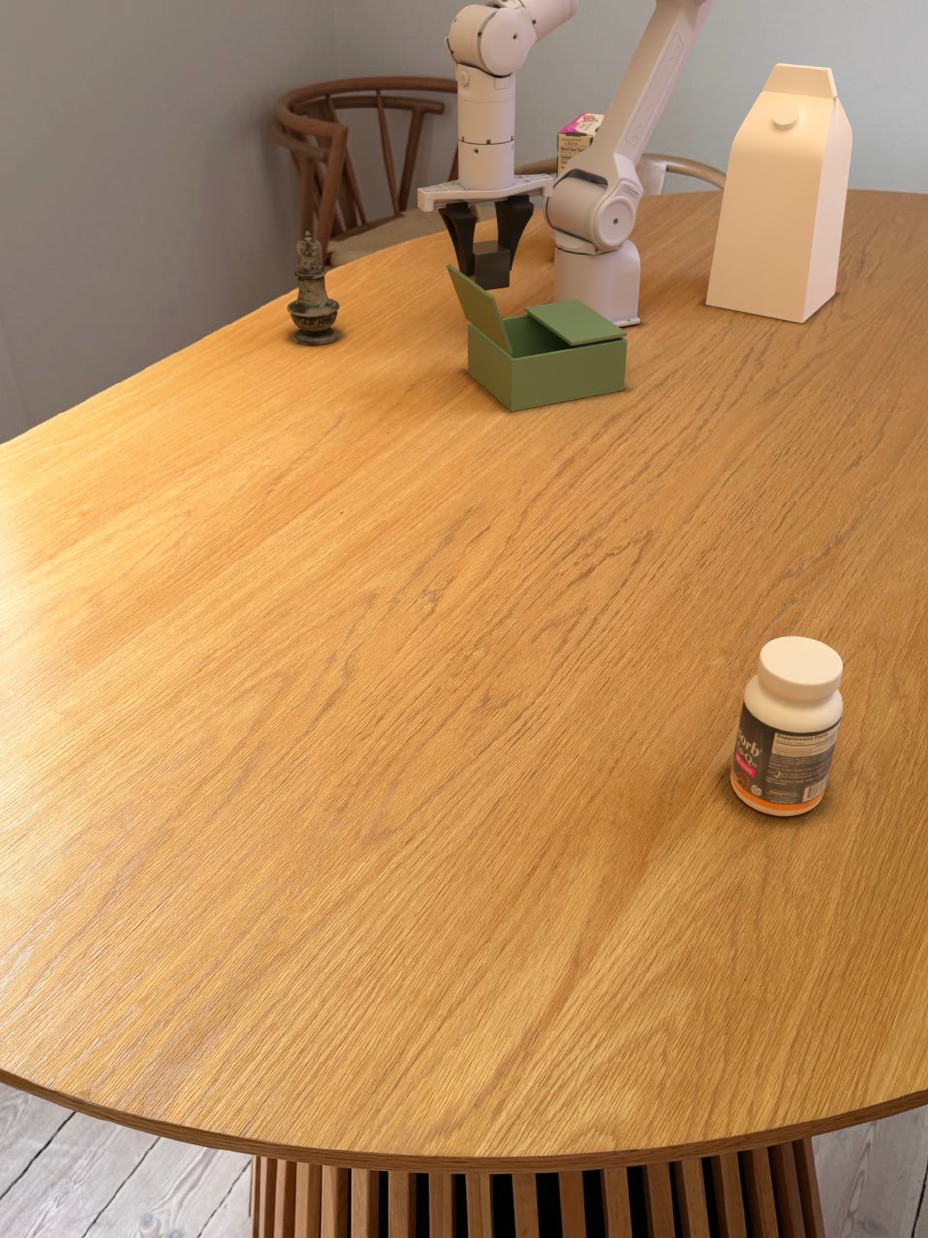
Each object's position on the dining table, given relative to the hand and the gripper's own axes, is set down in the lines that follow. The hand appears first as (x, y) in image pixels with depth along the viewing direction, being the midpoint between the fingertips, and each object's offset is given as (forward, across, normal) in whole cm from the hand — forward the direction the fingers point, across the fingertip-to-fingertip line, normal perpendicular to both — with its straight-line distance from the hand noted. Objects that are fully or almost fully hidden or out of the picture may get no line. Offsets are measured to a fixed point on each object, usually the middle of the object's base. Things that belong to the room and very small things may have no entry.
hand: (485, 271), depth 130 cm
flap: (-1, +6, +12) cm, 13 cm away
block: (+1, 0, 0) cm, 1 cm away
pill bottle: (+9, +12, +74) cm, 75 cm away
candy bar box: (+9, -25, -26) cm, 37 cm away
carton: (+8, -2, +12) cm, 14 cm away
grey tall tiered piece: (+9, +16, -10) cm, 21 cm away
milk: (+8, -38, 0) cm, 39 cm away
